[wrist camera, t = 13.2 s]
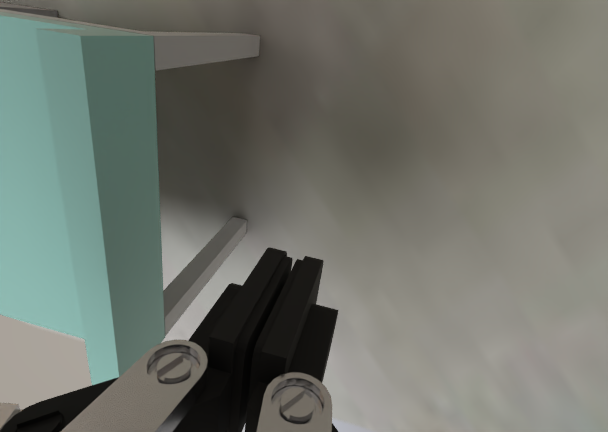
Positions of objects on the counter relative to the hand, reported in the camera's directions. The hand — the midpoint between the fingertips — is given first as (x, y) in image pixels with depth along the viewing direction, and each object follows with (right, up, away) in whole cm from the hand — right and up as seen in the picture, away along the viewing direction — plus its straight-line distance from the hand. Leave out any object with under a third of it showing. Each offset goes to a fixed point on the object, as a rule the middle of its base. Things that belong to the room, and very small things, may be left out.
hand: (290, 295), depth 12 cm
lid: (-11, +4, +4) cm, 12 cm away
